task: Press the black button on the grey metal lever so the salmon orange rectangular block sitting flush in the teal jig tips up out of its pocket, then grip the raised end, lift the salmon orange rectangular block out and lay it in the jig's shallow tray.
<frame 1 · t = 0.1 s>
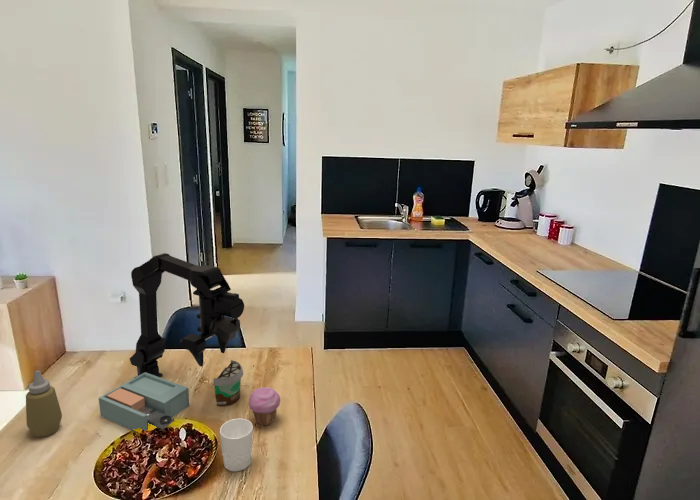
hand: (212, 359, 135), 15 cm above the table, tool pointing down, fingers open, 9 cm apart
lever: (144, 413, 127), point 3 cm above the table, hinge at 0.0°, touching salmon orange rectangular block
squeeze bottle: (46, 431, 123), on the table
white cup: (237, 462, 115), on the table
salmon orange rectangular block: (126, 404, 130), point 3 cm above the table, touching jig, lever
cupcake: (264, 421, 131), on the table
jig: (146, 410, 133), on the table
food container: (232, 399, 141), on the table
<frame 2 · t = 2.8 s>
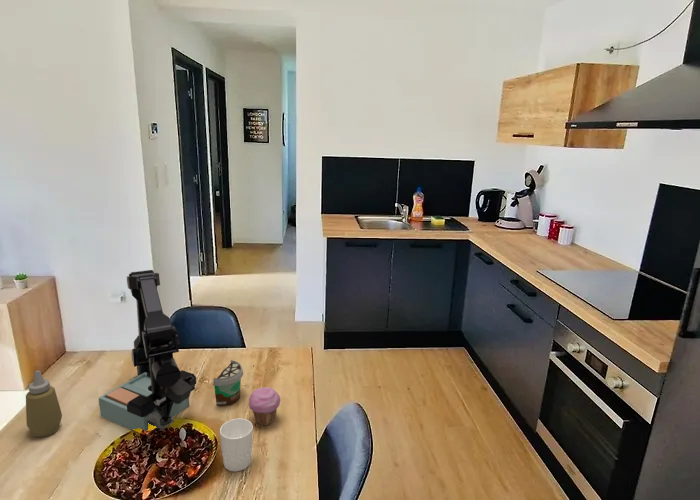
hand: (165, 419, 124), 4 cm above the table, tool pointing down, fingers closed, pressing on lever
lever: (144, 413, 127), point 3 cm above the table, hinge at 1.0°, touching gripper
salmon orange rectangular block: (126, 404, 130), point 4 cm above the table
everything else where it was.
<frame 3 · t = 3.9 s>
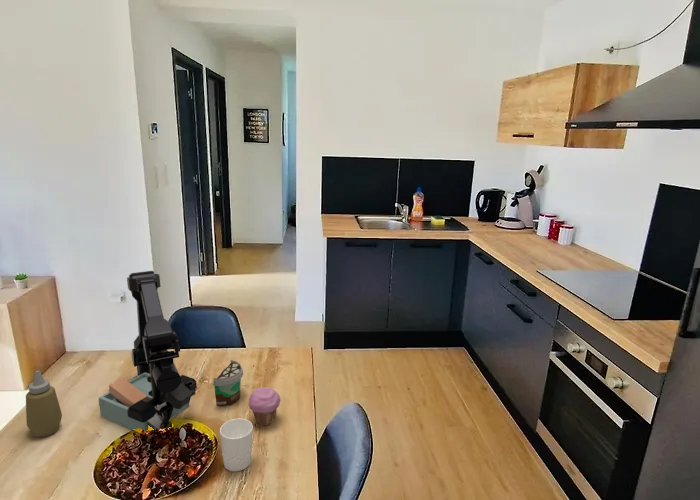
hand: (166, 424, 124), 2 cm above the table, tool pointing down, fingers closed
lever: (145, 411, 127), point 4 cm above the table, hinge at 17.2°, touching salmon orange rectangular block
salmon orange rectangular block: (127, 397, 129), point 6 cm above the table, tilted 17°, touching lever
everything else where it was.
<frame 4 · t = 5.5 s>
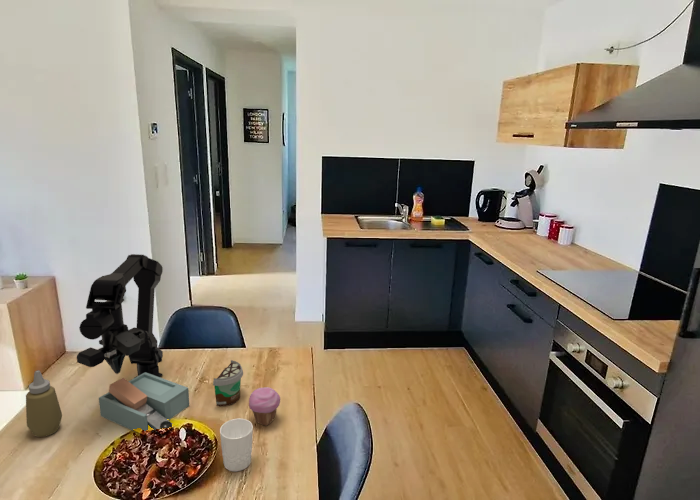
hand: (117, 373, 129), 13 cm above the table, tool pointing down, fingers closed
nothing on the table moved.
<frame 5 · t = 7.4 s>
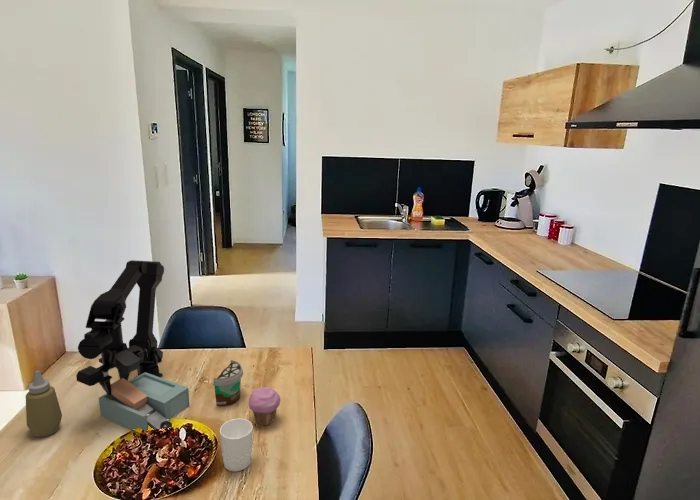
hand: (116, 390, 131), 7 cm above the table, tool pointing down, fingers closed on salmon orange rectangular block, 4 cm apart
salmon orange rectangular block: (127, 397, 129), point 6 cm above the table, tilted 17°, touching gripper, lever
everything else where it was.
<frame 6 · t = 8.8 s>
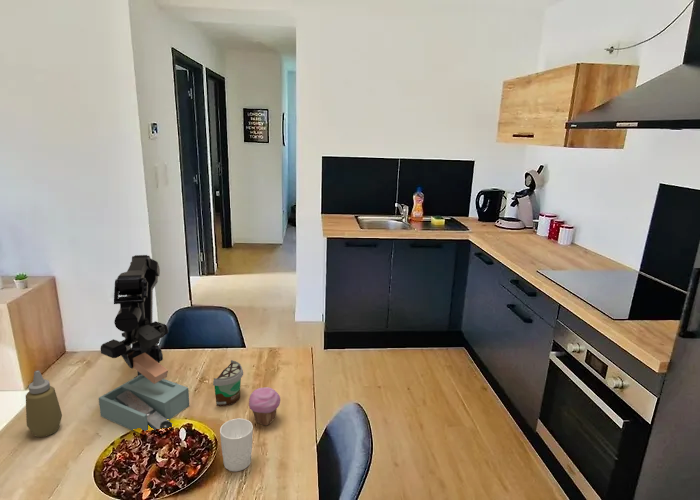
hand: (138, 364, 135), 12 cm above the table, tool pointing down, fingers closed on salmon orange rectangular block, 4 cm apart
lever: (145, 411, 127), point 4 cm above the table, hinge at 17.4°
salmon orange rectangular block: (148, 371, 133), point 11 cm above the table, tilted 18°, touching gripper
everything else where it was.
when the fingers open (7 cm above the table, at t = 10.1 s): salmon orange rectangular block drops 2 cm, resting on jig.
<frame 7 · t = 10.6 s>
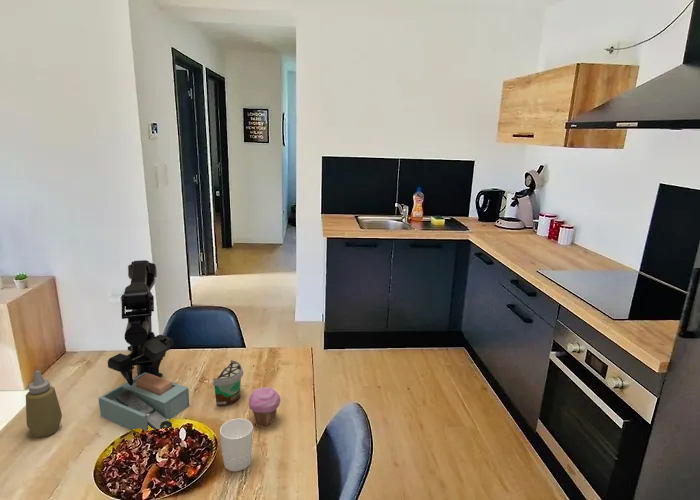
hand: (144, 377, 137), 7 cm above the table, tool pointing down, fingers open, 9 cm apart
salmon orange rectangular block: (154, 388, 136), point 5 cm above the table, touching jig
everything else where it was.
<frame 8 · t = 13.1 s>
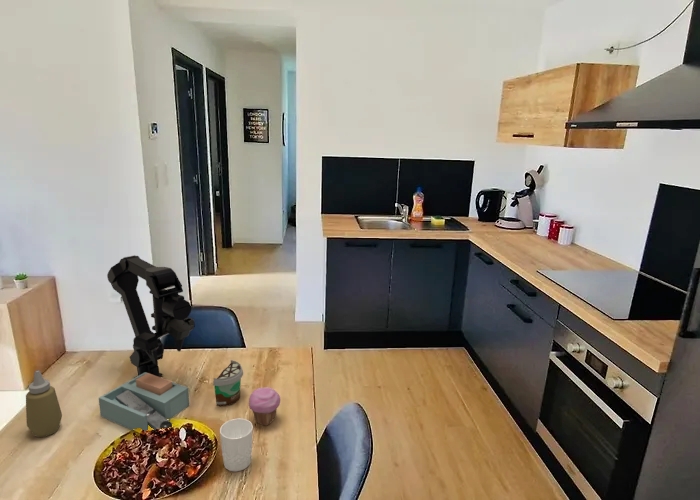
hand: (167, 357, 139), 12 cm above the table, tool pointing down, fingers open, 9 cm apart
nothing on the table moved.
at the end: salmon orange rectangular block inside the target area on the jig (0.9 cm from its centre), point 5.1 cm above the jig's base; the gripper is holding nothing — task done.
